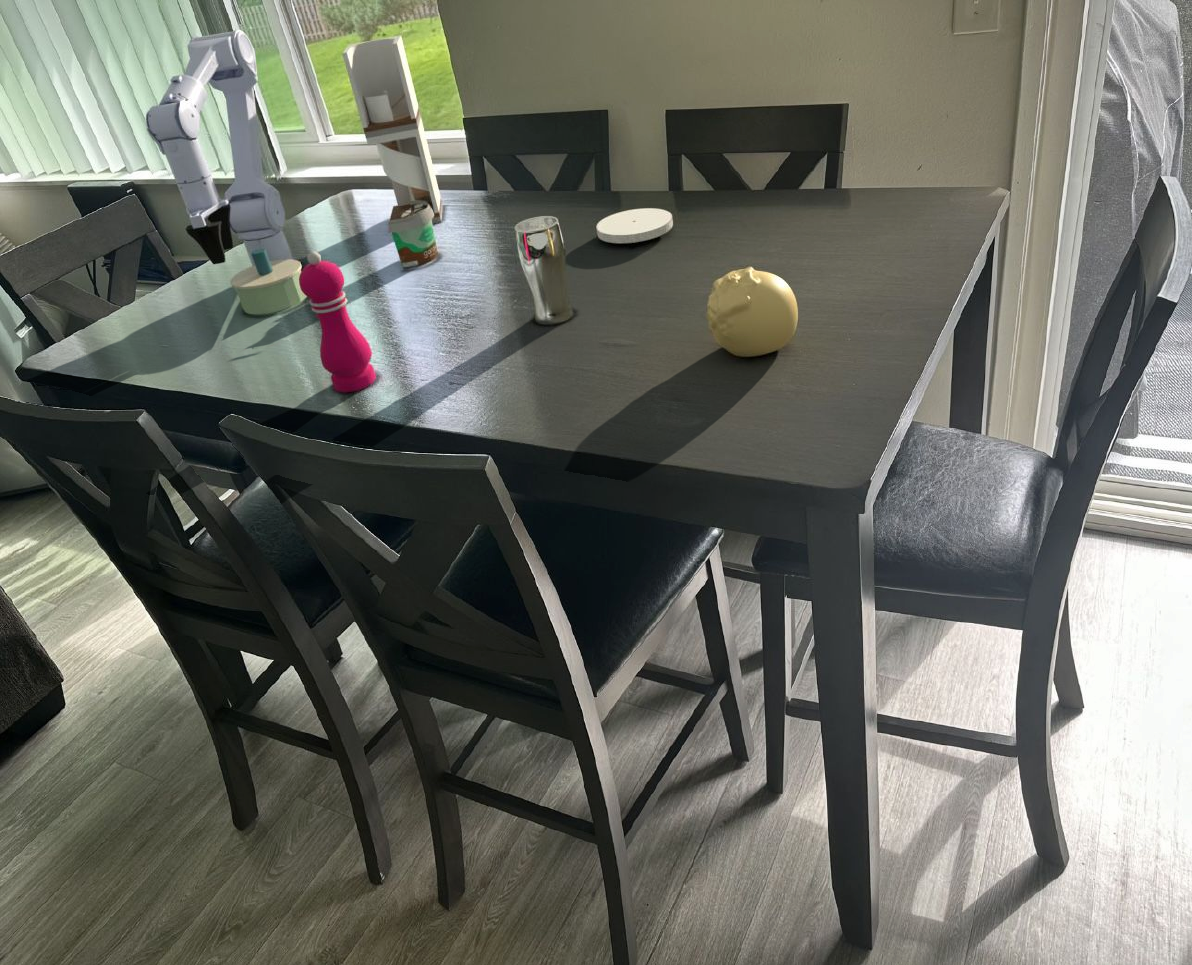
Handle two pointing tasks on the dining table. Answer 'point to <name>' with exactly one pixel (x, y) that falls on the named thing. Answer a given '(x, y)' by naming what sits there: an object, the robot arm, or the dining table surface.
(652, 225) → the plastic lid
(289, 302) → the tub
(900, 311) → the dining table surface
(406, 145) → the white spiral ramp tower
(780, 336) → the sculpture
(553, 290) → the beer glass
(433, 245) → the food container
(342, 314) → the pepper mill
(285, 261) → the tub lid
